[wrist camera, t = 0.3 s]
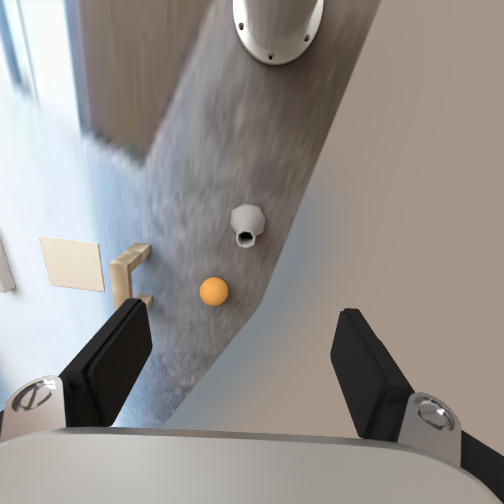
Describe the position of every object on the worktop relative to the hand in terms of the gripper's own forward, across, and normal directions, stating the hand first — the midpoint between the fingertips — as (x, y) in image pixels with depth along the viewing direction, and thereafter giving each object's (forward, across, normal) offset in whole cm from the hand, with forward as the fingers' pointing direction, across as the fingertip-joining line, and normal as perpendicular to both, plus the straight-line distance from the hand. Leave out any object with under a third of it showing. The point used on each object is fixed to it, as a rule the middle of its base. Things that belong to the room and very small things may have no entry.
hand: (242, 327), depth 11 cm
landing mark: (+36, +39, +17) cm, 56 cm away
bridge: (+36, +23, +18) cm, 47 cm away
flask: (+36, +1, +5) cm, 37 cm away
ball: (+33, +7, +20) cm, 39 cm away
